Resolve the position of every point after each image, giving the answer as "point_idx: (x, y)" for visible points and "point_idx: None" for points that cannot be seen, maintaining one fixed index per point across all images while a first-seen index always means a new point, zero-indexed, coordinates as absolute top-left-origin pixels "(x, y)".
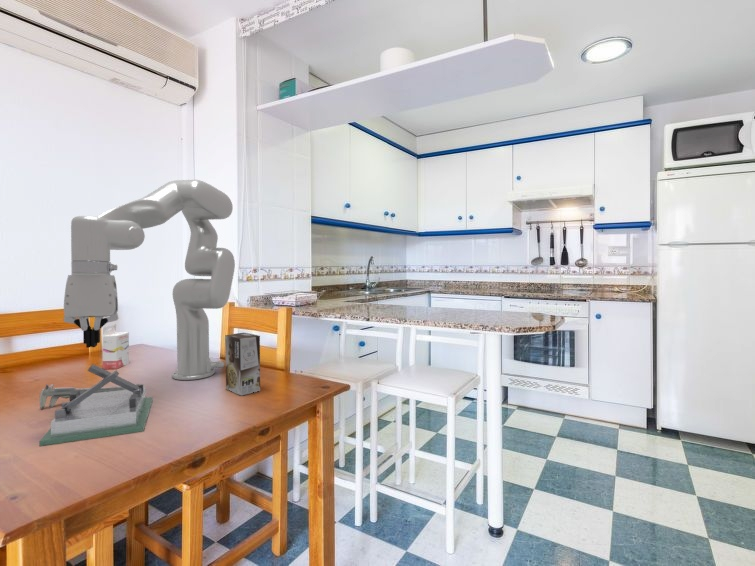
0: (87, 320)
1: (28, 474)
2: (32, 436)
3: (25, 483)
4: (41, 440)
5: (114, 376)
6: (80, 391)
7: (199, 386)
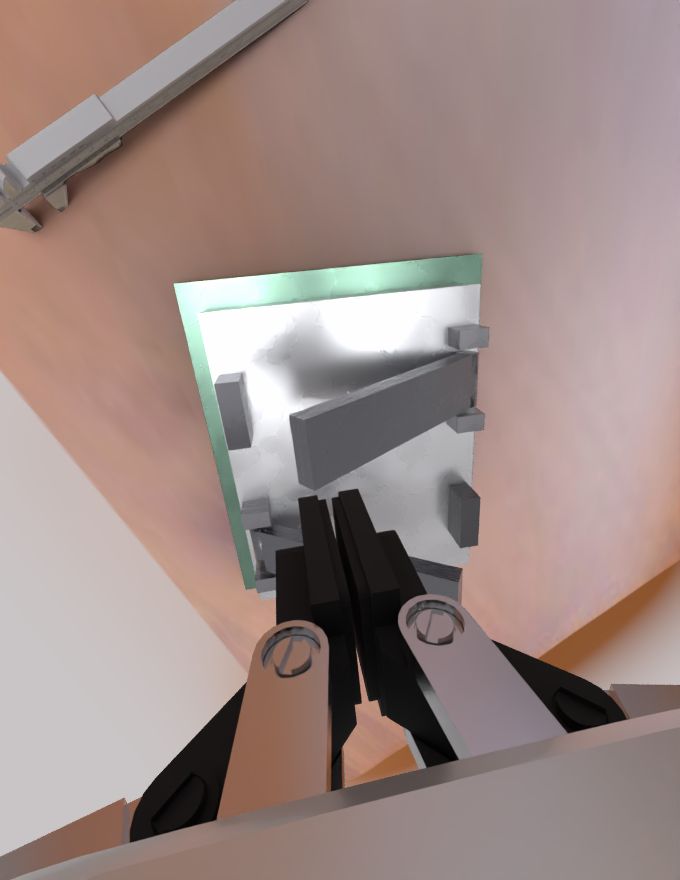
0: (316, 778)
1: None
2: (189, 518)
3: None
4: (249, 587)
5: None
6: (139, 111)
7: (673, 69)
